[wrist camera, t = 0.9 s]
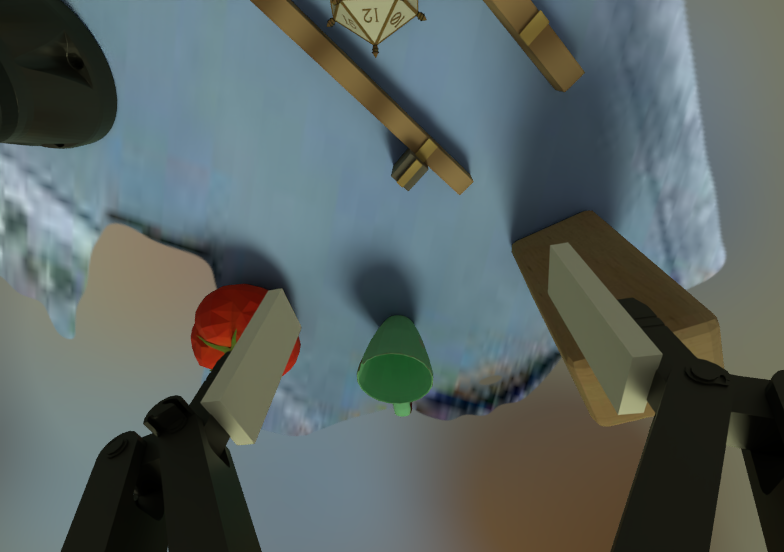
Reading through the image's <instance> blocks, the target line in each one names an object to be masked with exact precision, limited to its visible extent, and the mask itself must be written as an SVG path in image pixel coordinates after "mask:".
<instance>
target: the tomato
mask: <svg viewBox="0 0 784 552" xmlns="http://www.w3.org/2000/svg"><path fill="white" fill-rule="evenodd" d="M267 292H268V290H266V289H264V288H262V287H258V286H253V285H249V284H236V285H227V286H222V287H221V288H219V289H217V290H215V291H213V292H211V293H210V294H208V295H207V296H206V297H205V298H204V299H203V301H202V302H201V303H200V305H199V307H198V309H197V311H196V314H195V324H194V326H193V328H192V333H191V343H192V349H193V351H194V355H195V357H196V359H197V361H198V363H199V365H200V366H203V367H206V368H209V369H211V370H212V369H213V367H214V366H215V364H216V362H217V361H218V360H219V359H220V358H221V357H222V356H223V355H224V354H225V353H226V352H227V351H232V350H233V348H234V346H235V345H236V343H237V341H238V340H239V338H240V337H241V335H242V333H243V332H244V330H245V328H246V327H247V325H248V323H249V322H250V320H251V318H252V317H253V315H254V314H255V312H256V310H257V309H258V307H259V305H260V304H261V302H262V300H263V299H264V297H265V296H266V294H267ZM300 345H301V344H300V340H299V336H298V338H297V340H296V343H295V345H294V348H293V350H292V353H291V355H290V358H289V360H288V363H287V365H286V367H285V370H284V372H283V375H285V374H286V373H287V372H288V371H289V370H290V369H291V368H292V367H293V365H294V364H295V363H296V360H297V357H298V355H299V352H300ZM211 370H210V371H211ZM283 375H282V376H283Z"/></svg>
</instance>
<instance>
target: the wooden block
mask: <svg viewBox="0 0 784 552" xmlns="http://www.w3.org/2000/svg"><path fill="white" fill-rule="evenodd" d="M567 242H568V243H569V244H570V245H571V246H572V248H573V249H574V250H575V251H576V252H577V253H578V255H579V256H580V257H581V258H582V259H583V261H584V262H585V263H586V264H587V265H588V266H589V268H590V269H591V270H592V271H593V272H594V274H595V275H596V276H597V277H598V278H599V279H600V281H601V282H602V283H603V284H604V285H605V287H606V288H607V289H608V290H609V291H610V292H611V294H612V295H613V296H614V297H615V298H616V300H617V299H625V298H632V297H633V298H635V299H636V300H638V301H640V302H642V303H644V304H646V305H647V306H648V307H649V308H650V309H651V310H652V311H653V312H654V313H655V314H656V315H657V318H660V319H661V320H662V322H663V323H664V324H665V326H667V327H668V328H669V329H670V330H671V331H672V332H673V333H674V334H675V335H676V336H677V337H678V338H679V339H680V340H681V342H682V343H683V344H684V345H685V346H686V347H687V348H688V349H689V350H690V351H691V352H692V353H693V354H694V355H695V356H696V357H697V358H699V359H704V360H707V361H710V362H712V363H715V364H717V365H719V366H720V367H722V368H723V369H724V364H723V354H722V345H721V337H720V336H721V335H720V326H719V323H718V320H717V317H716V316H715V315H714V314H713V313H712V312H711V311H710V310H708V309H707V308H706V307H705V306H704V305H702V304H701V303H700V302H699V301H698V300H697V299H695V298H694V297H693V296H692V295H691V294H690V293H688V292H687V291H686V290H685V289H684V288H683V287H681V286H680V285H679V284H678V283H677V282H676V281H674V280H673V279H672V278H671V277H670V276H668V275H667V274H666V273H665V272H664V271H663V270H661V269H660V268H659V267H658V266H657V265H656V264H654V263H653V262H652V261H651V260H650V259H648V258H647V257H646V256H645V255H644V254H643V253H641V252H640V251H639V250H638V249H637V248H636V247H634V246H633V245H632V244H631V243H630V242H629V241H627V240H626V239H625V238H624V237H623V236H621V235H620V234H619V233H618V232H617V231H616V230H614V229H613V228H612V227H611V226H610V225H609V224H607V223H606V222H605V221H604V220H603V219H602V218H600V217H599V216H598V215H597V214H596V213H594V212H593V211H590V210H589V211H583V212H581V213H579V214H576V215H574V216H572V217H570V218H567V219H565V220H563V221H561V222H558V223H556V224H554V225H552V226H549V227H547V228H545V229H543V230H540V231H538V232H536V233H534V234H531V235H529V236H527V237H525V238H522V239H520V240H518V241H516V242H515V243H514V244H512V253H513V256H514V258H515V260H516V262H517V264H518V267H519V269H520V271H521V273H522V275H523V277H524V280H525V282H526V284H527V286H528V288H529V290H530V293H531V295H532V297H533V299H534V301H535V303H536V305H537V307H538V309H539V311H540V313H541V315H542V317H543V319H544V321H545V323H546V325H547V328H548V330H549V332H550V334H551V336H552V338H553V340H554V342H555V344H556V346H557V348H558V350H559V352H560V354H561V356H562V358H563V360H564V362H565V364H566V366H567V368H568V370H569V372H570V374H571V376H572V378H573V381H574V383H575V384H576V386H577V389H578V391H579V393H580V395H581V397H582V399H583V401H584V403H585V405H586V407H587V409H588V411H589V413H590V415H591V417H592V418H593V419H594V420H595V421H596V422H597V423H598V424H600V425H601V426H613V425H618V424H622V423H626V422H630V421H634V420H639V419H643V418H647V417H652V416H655V412H654V410H653V409H652V408H651V406H650V405H649V403H648V402H647V404H646V407H645V410H644V413H635V414H623V415H618V414H617V412H616V411H615V409H614V407H613V405H612V404H611V402H610V400H609V398H608V397H607V395H606V393H605V391H604V390H603V388H602V386H601V385H600V383H599V381H598V379H597V378H596V376H595V374H594V372H593V371H592V369H591V367H590V366H589V364H588V362H587V360H586V359H585V357H584V355H583V353H582V352H581V350H580V348H579V346H578V345H577V343H576V341H575V340H574V338H573V336H572V334H571V333H570V331H569V329H568V327H567V326H566V324H565V322H564V321H563V319H562V317H561V315H560V314H559V312H558V310H557V308H556V307H555V305H554V303H553V301H552V300H551V298H550V296H549V295H548V279H549V258H550V245H555V244H561V243H567Z"/></svg>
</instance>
